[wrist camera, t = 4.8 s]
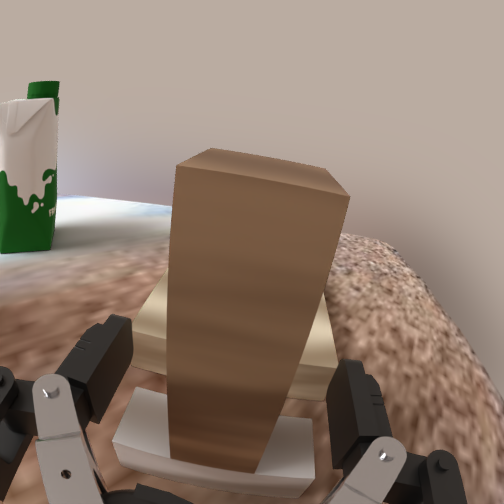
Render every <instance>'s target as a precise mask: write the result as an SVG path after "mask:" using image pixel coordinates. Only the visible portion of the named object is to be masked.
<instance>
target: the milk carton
mask: <svg viewBox="0 0 504 504" xmlns="http://www.w3.org/2000/svg"><path fill="white" fill-rule="evenodd" d="M58 90H59V81H40V82H32V83H29V87H28V94H27V95H28V96H27V99H17V100H12V101H9V102H6V103H0V253H14V252H27V251H41V250H50V248H51V243H52V238H53V234H54V229H55V216H56V205H57V142H58V141H57V140H58V114H59V113H58V112H59V97H58Z"/></svg>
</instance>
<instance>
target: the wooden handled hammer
mask: <svg viewBox="0 0 504 504" xmlns="http://www.w3.org/2000/svg"><path fill="white" fill-rule="evenodd" d="M349 200H350V196H349V195H348V194H347V192H346V191H345V190H344V189H343V188H342V187H341V186H340V184H339V183H338V182H337V181H336V180H335V179H334V178H333V177H332V176H331V174H330V173H329V172H328V171H327V170H326V169H324V168H320V167H315V166H311V165H306V164H301V163H296V162H291V161H286V160H280V159H275V158H270V157H264V156H259V155H253V154H247V153H241V152H234V151H228V150H222V149H215V148H210V149H208V150H206V151H204V152H202V153H200V154H198V155H196V156H194V157H192V158H190V159H188V160H186V161H184V162H182V163H180V164H178V165H177V166H176V174H175V184H174V195H173V205H172V218H171V231H170V246H169V264H168V287H167V327H166V369H167V395H166V394H162V393H158V392H155V391H151V390H147V389H144V388H140V387H136V388H135V391H134V393H133V395H132V397H131V399H130V401H129V404H128V406H127V408H126V410H125V413H124V415H123V417H122V419H121V421H120V424H119V426H118V428H117V431H116V433H115V435H114V437H113V440H112V443H113V446H114V448H115V451H116V454H117V457H118V459H119V462H120V465H121V466H124V467H127V468H130V469H133V470H136V471H139V472H143V473H146V474H149V475H153V476H157V477H160V478H164V479H168V480H172V481H176V482H180V483H185V484H189V485H194V486H199V487H204V488H209V489H215V490H221V491H227V492H234V493H241V494H249V495H258V496H269V497H282V498H299V497H300V496H301V495H302V494H303V492H304V491H305V490H306V489H307V488H308V487H309V485H310V484H311V483H312V482H313V481H314V479H315V463H314V444H313V427H312V419H309V418H298V417H289V416H280V412H281V410H282V407H283V405H284V402H285V400H286V397H287V395H288V392H289V389H290V387H291V384H292V381H293V379H294V376H295V373H296V371H297V368H298V365H299V363H300V360H301V357H302V354H303V351H304V349H305V346H306V343H307V340H308V337H309V334H310V331H311V328H312V325H313V322H314V319H315V316H316V313H317V310H318V307H319V304H320V301H321V298H322V295H323V292H324V288H325V285H326V282H327V279H328V275H329V272H330V269H331V265H332V262H333V259H334V255H335V252H336V248H337V245H338V241H339V238H340V234H341V230H342V226H343V223H344V219H345V215H346V212H347V208H348V204H349Z"/></svg>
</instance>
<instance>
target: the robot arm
mask: <svg viewBox="0 0 504 504" xmlns="http://www.w3.org/2000/svg"><path fill="white" fill-rule="evenodd" d="M133 351H134V346H133V334H132V322H131V319H130V318H126V317H122V316H118V315H115V314H111V315H110V316H109V318H108V319H107V320H106V322H105V323H104V324H103V325H102V324H99V323H97V324H95V325H94V326H92V327H91V328H89V329H87V330H86V332H85V333H84V334H83V336H82V337H81V338H80V340H79V341H78V342H77V344H76V345H75V347H74V348H73V349H72V350H71V352H70V353H69V354H68V356H67V357H66V358H65V360H64V361H63V363H62V364H61V365H60V367H59V368H58V370H57V371H56V372H55V373H54V374H46V375H43V376H41V377H40V378H38V379H37V380H36V381H35V382H34V381H26V380H19V379H15V378H14V376H13V373H12V372H11V371H10V370H9V369H8V368H6V367H3V366H0V504H3V501H4V499H5V496H6V494H7V492H8V489H9V487H10V485H11V482H12V480H13V478H14V476H15V473H16V471H17V469H18V467H19V465H20V463H21V460H22V458H23V456H24V454H25V452H26V450H27V448H28V446H29V444H30V442H31V440H32V438H33V436H38V437H39V439H37V440H36V441H35V445H36V451H37V456H38V461H39V466H40V470H41V475H42V479H43V483H44V487H45V491H46V494H47V498H48V501H49V504H193V503H191V502H189V501H187V500H184V499H182V498H180V497H178V496H176V495H174V494H172V493H170V492H166V491H162V490H159V489H155V488H152V487H148V486H145V485H141V484H138V483H137V485H136V488H135V490H115V491H111V492H109V491H108V489H107V486H106V484H105V482H104V479H103V477H102V475H101V473H100V470H99V467H98V465H97V462H96V459H95V456H94V453H93V450H92V447H91V443H90V440H89V437H88V434H87V430H86V427H87V425H88V423H89V421H91V422H94V423H97V424H99V423H100V421H101V419H102V417H103V415H104V413H105V411H106V409H107V407H108V405H109V403H110V401H111V399H112V398H113V396H114V394H115V392H116V390H117V388H118V386H119V384H120V382H121V380H122V378H123V376H124V374H125V372H126V371H127V369H128V367H129V365H130V363H131V360H132V357H133ZM381 396H382V394H381V391H380V387H379V384H378V383H377V382H376V380H375V379H374V378H373V376H372V375H368V374H365V371H364V367H363V364H362V362H361V361H359V360H350V359H341V360H340V362H339V364H338V366H337V368H336V371H335V373H334V375H333V377H332V379H331V381H330V383H329V385H328V389H327V394H326V403H327V412H328V422H329V431H330V442H331V453H332V465H333V469H343V477H342V478H341V479H340V480H339V482H338V483H337V484H336V485H335V487H334V488H333V489H332V490H331V491H330V493H329V494H328V495H327V496H326V497H325V499H324V500H323V501H322V502H321V503H320V504H382V502H386V503H389V504H467V500H466V496H465V491H464V487H463V483H462V479H461V475H460V471H459V467H458V463H457V461H456V459H455V457H454V456H453V455H452V454H451V453H449V452H447V451H445V450H436V451H433V452H432V453H431V454H430V455H429V456H428V457H425V456H421V455H416V454H412V453H409V452H406V450H405V447H404V446H403V445H402V443H401V442H399V441H398V440H396V439H394V438H393V436H392V432H391V428H390V424H389V420H388V417H387V413H386V409H385V406H384V402H383V398H382V397H381Z"/></svg>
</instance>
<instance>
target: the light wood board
mask: <svg viewBox="0 0 504 504" xmlns="http://www.w3.org/2000/svg"><path fill="white" fill-rule="evenodd" d="M167 287H168V268H167V270H166V271H165V273H164V274H163V276H162V277H161V279H160V280H159V282H158V283H157V285H156V286H155V288H154V289H153V291H152V292H151V294H150V296H149V297H148V299H147V300H146V302H145V303H144V305H143V306H142V308H141V310H140V311H139V313H138V314H137V316H136V317H135V319H134V321H133V322H132V334H133V346H134V351H133V357H132V360H131V366H133V367H137V368H141V369H144V370H148V371H152V372H156V373H159V374H163V375H167V369H166V327H167ZM337 366H338V360H337V354H336V349H335V344H334V339H333V334H332V330H331V325H330V320H329V315H328V311H327V306H326V302H325V297H324V293H323V295H322V298H321V301H320V304H319V307H318V310H317V313H316V316H315V319H314V322H313V325H312V328H311V331H310V334H309V337H308V340H307V343H306V346H305V349H304V351H303V354H302V357H301V360H300V363H299V365H298V368H297V371H296V373H295V376H294V379H293V381H292V384H291V387H290V389H289V392H288V395H287V397H288V398H296V399H305V400H315V401H323V400H324V398H325V397H326V394H327V389H328V385H329V383H330V381H331V379H332V377H333V375H334V373H335V371H336V368H337Z"/></svg>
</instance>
